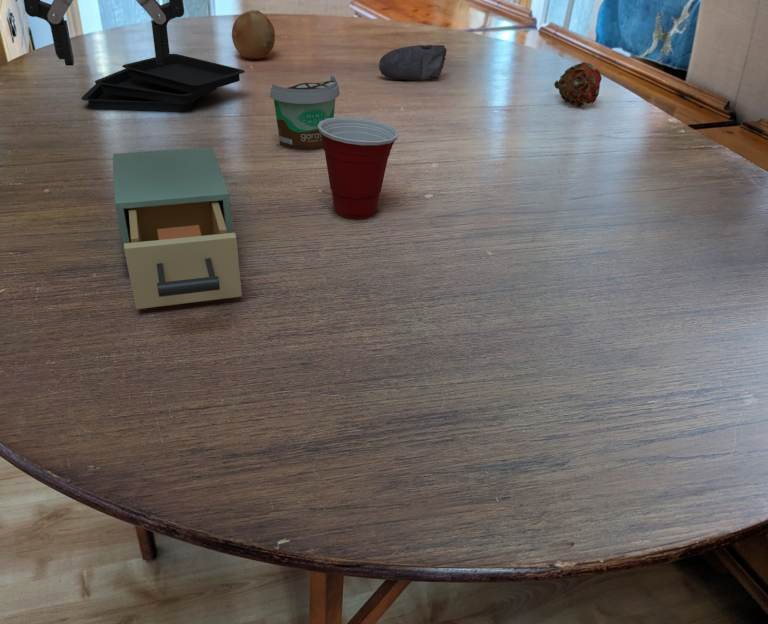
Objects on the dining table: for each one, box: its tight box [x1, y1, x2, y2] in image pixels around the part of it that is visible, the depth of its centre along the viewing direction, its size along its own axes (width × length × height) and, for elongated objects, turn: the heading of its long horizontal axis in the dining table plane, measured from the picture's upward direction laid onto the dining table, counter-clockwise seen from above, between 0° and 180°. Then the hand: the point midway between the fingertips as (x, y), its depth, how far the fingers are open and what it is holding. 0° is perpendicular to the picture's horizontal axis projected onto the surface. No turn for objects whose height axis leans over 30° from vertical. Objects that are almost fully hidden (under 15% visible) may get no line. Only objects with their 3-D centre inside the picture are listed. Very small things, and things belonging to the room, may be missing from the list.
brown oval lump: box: [231, 9, 276, 61], centre depth 164 cm, size 10×10×10 cm
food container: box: [269, 75, 341, 151], centre depth 120 cm, size 12×6×10 cm, turn 126°
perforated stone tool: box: [378, 44, 447, 81], centre depth 155 cm, size 15×5×7 cm, turn 99°
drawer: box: [123, 201, 243, 310], centre depth 81 cm, size 20×11×7 cm, turn 17°
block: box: [157, 225, 202, 240], centre depth 81 cm, size 5×5×5 cm
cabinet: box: [112, 146, 234, 274], centre depth 91 cm, size 16×13×9 cm
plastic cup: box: [318, 116, 400, 220], centre depth 99 cm, size 11×11×12 cm
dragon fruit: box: [553, 61, 603, 108], centre depth 146 cm, size 8×8×12 cm
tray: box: [81, 53, 246, 113], centre depth 139 cm, size 30×23×5 cm
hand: (115, 63), depth 72 cm, fingers open, 8 cm apart
